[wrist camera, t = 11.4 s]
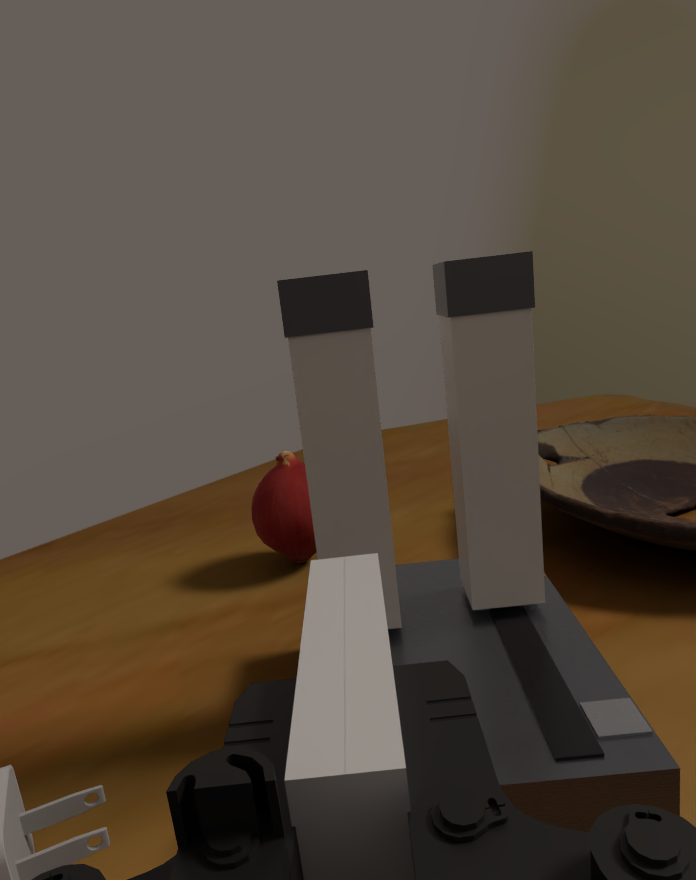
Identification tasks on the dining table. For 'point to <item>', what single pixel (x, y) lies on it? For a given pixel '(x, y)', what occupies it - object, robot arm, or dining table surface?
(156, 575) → the dining table surface
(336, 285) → the grey square post
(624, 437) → the broken bowl
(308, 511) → the onion
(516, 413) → the white capped post
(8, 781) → the usb wall charger
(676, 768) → the console
